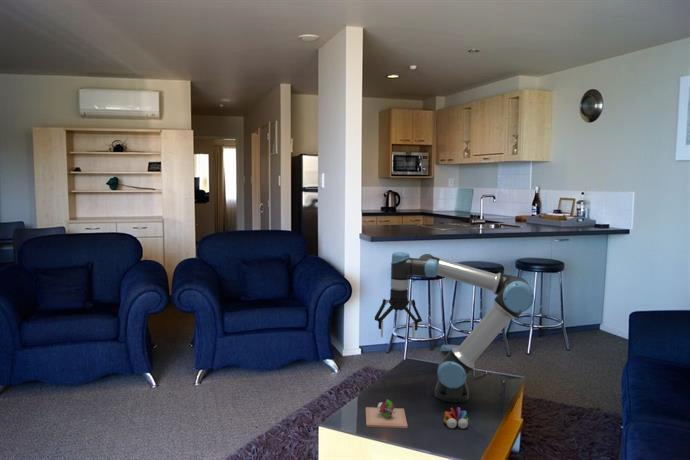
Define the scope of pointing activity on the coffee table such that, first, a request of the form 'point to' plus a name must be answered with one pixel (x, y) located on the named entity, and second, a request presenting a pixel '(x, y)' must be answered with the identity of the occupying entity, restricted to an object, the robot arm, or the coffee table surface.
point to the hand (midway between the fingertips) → (397, 337)
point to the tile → (380, 421)
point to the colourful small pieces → (456, 418)
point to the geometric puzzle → (386, 408)
